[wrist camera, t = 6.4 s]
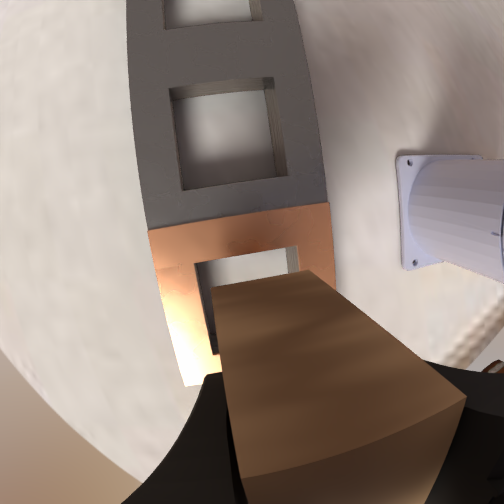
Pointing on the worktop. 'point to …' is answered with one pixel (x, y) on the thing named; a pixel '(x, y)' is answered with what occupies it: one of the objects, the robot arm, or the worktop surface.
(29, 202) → the worktop surface
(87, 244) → the worktop surface
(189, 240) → the rail
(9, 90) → the worktop surface
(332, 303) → the peg
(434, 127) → the worktop surface
